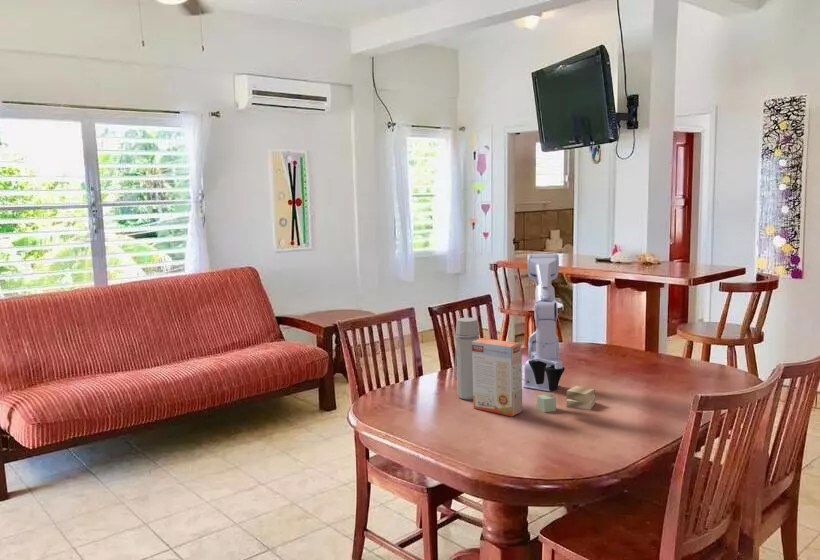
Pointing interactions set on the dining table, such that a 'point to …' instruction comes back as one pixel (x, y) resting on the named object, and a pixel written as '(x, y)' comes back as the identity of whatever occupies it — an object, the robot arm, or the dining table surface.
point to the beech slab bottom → (581, 404)
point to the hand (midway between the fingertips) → (546, 387)
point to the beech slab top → (580, 394)
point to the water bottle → (465, 355)
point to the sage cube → (546, 403)
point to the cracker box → (497, 376)
